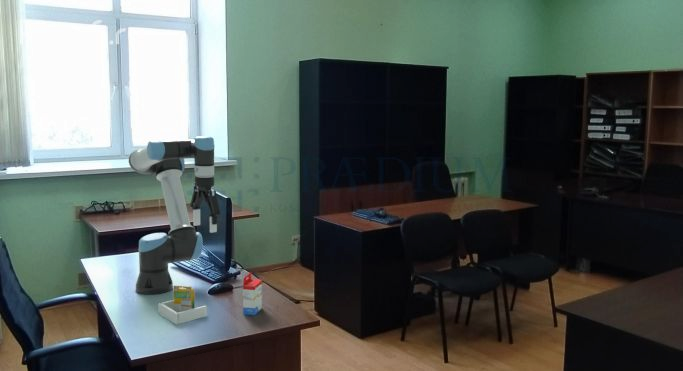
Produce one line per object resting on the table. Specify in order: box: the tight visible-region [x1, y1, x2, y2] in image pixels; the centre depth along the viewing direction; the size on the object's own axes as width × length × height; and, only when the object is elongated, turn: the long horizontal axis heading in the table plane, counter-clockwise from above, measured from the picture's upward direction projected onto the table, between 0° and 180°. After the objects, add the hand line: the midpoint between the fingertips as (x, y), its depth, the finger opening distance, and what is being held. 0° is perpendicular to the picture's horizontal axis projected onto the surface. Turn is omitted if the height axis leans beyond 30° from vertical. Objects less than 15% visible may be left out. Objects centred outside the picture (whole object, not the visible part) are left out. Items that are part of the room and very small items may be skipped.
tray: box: [157, 299, 208, 325], centre depth 220 cm, size 14×12×4 cm
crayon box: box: [173, 285, 196, 313], centre depth 220 cm, size 7×3×12 cm, turn 81°
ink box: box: [242, 271, 263, 316], centre depth 224 cm, size 8×5×15 cm, turn 168°
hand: (204, 228), depth 231 cm, fingers open, 13 cm apart
